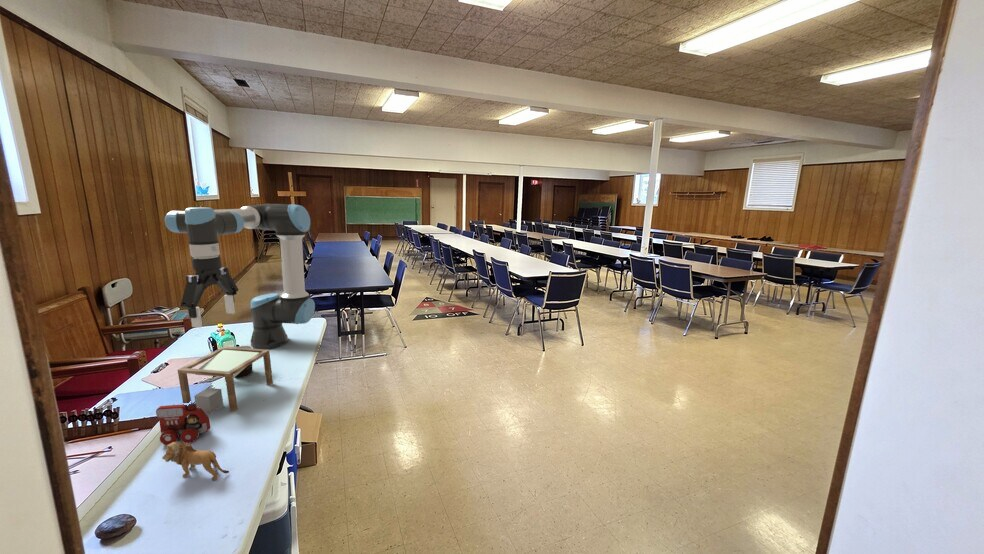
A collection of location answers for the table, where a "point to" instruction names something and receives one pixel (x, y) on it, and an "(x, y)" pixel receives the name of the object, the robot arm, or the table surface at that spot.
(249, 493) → the table surface
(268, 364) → the frame
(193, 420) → the toy fire truck
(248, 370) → the coffee mug
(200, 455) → the lion figurine
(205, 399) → the cube
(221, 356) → the hatch
